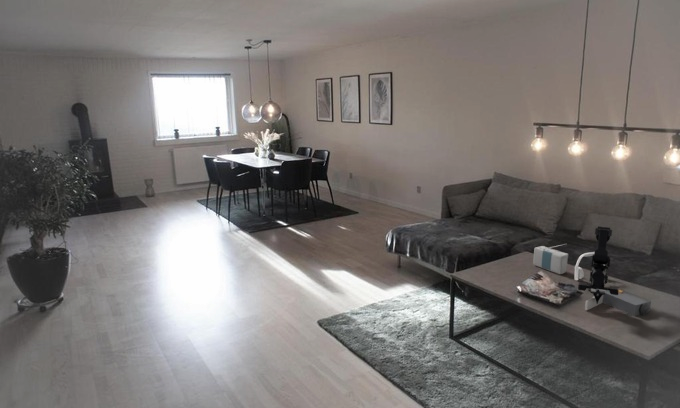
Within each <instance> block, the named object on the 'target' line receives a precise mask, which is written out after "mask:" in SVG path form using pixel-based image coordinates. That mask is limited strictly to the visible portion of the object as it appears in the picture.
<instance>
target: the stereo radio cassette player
mask: <svg viewBox="0 0 680 408" xmlns="http://www.w3.org/2000/svg"><path fill="white" fill-rule="evenodd" d="M563 245H565V246H566V243H564V244H560V245H556V246H555V245H554V246H549V247H547V246H545V245H540V246H537V247H534V249H533V250H534V251H533V261H532V264H533V266H535V267H538V268H542V269H544V270H546V271H549V272H552V273H554V274H557V275H563V274H564V273H566V272H567V269H568V267H567V266H568V259H569V253H567V252H564V251H560V250H557V249H553V248H556V247H559V246H563Z"/></svg>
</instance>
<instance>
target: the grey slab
mask: <svg viewBox="0 0 680 408" xmlns="http://www.w3.org/2000/svg"><path fill="white" fill-rule="evenodd" d="M602 304H605V305H607V306H610V307H612V308H615V309H616V310H620V311H622V312H624V313H627V314H628V315H631V316H634V317H635V316H639V315H647V314H648V313H649V312H650V311H651V306H652V305H651V304H652V300H649V299H646V298H644V297H642V296H639V295H637V294H635V293H631V292H628V291H627V290H623V289H621V288H619V291H618V295H612V294H610V292H609V291H605V295H604V299H603V303H602Z"/></svg>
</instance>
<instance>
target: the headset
mask: <svg viewBox="0 0 680 408" xmlns="http://www.w3.org/2000/svg"><path fill="white" fill-rule="evenodd" d="M594 253H595V251H593V252H592V251H591V252H585V253H583V254H581V255H580V256H579V257H578V258H577V261H576V264H575V265H574V274H573V275H574V281H579V280H581V279H584V274H585V272H584V270H583V268H582V267H580V266H579V264H581V260H582V259H583V258H584V257H587V258H588V257H593V254H594Z"/></svg>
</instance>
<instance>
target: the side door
mask: <svg viewBox="0 0 680 408" xmlns="http://www.w3.org/2000/svg"><path fill="white" fill-rule="evenodd" d="M603 299H604V295H602V296H601V298H600V299H599V301H598V304H596V303H597V302H596V299H595V297H594V296H592V297H589V298H588V299H586V300H585V303H584V310H585V311H589V310H591V309H593V308H595V307H597V306H599V305H601V304H604V303H603Z"/></svg>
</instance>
